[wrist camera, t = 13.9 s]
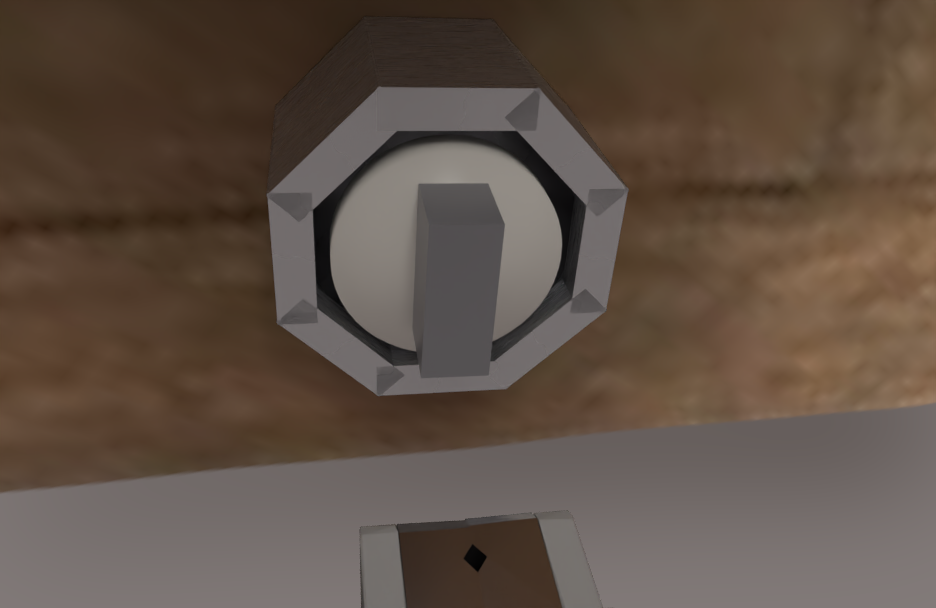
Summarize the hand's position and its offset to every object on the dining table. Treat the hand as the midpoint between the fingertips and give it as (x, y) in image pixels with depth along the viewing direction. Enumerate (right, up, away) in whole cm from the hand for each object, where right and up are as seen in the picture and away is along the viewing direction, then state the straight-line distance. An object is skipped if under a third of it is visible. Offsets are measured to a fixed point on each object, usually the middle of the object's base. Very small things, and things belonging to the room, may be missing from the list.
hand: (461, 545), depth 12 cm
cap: (-1, +5, +14) cm, 15 cm away
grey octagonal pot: (-2, +9, +19) cm, 21 cm away
